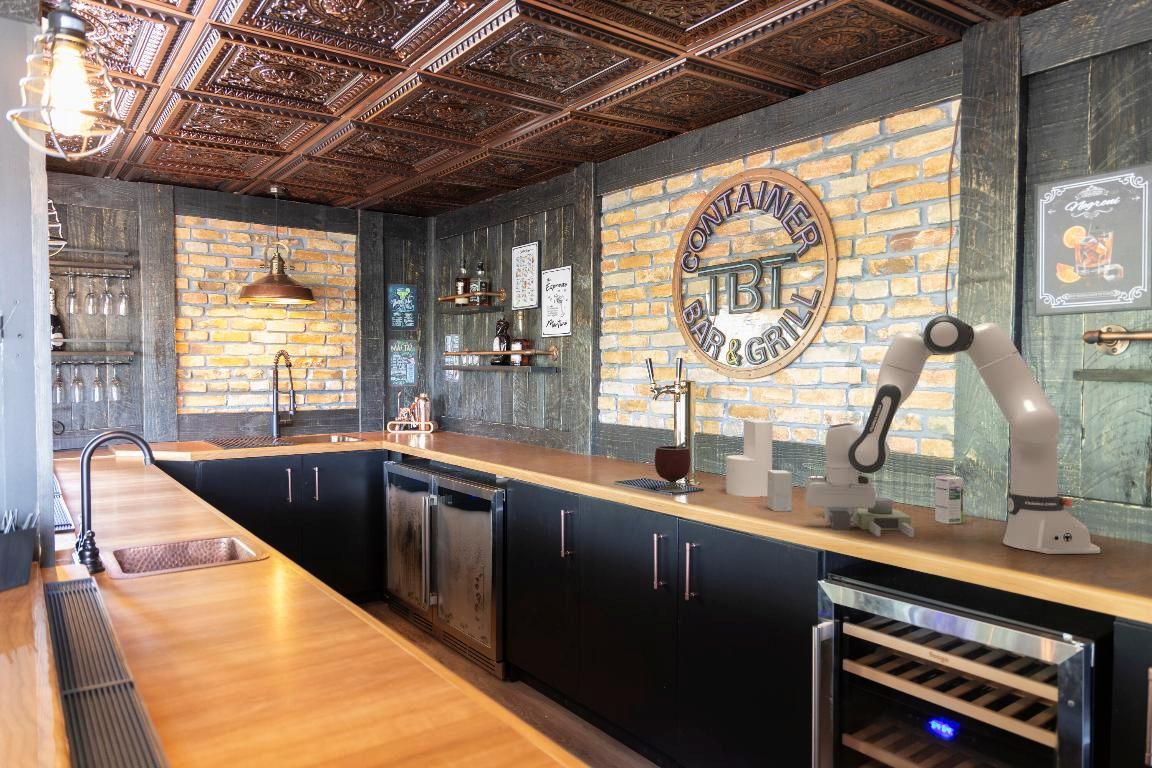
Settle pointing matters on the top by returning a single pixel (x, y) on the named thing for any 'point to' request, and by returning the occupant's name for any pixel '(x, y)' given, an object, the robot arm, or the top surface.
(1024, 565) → the top surface
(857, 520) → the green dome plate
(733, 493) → the pale stepped column block
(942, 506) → the syrup box
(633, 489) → the top surface
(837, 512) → the dark grey box
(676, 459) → the mate gourd
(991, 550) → the top surface
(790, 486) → the small box
